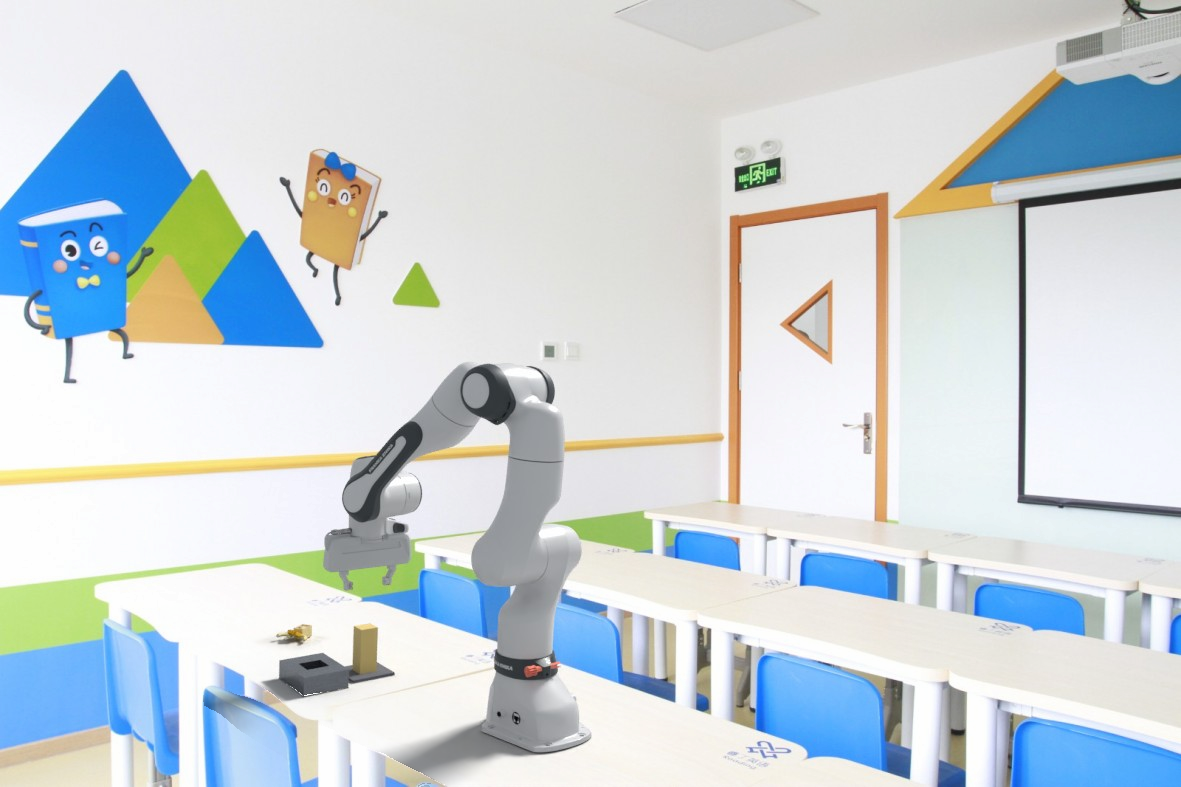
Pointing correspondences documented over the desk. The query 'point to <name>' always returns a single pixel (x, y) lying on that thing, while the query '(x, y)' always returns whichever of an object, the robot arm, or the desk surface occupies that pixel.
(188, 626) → the desk surface
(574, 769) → the desk surface
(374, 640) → the square block
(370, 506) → the robot arm
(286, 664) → the grey block with hole
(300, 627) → the character toy
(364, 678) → the rubber mat
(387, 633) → the desk surface
